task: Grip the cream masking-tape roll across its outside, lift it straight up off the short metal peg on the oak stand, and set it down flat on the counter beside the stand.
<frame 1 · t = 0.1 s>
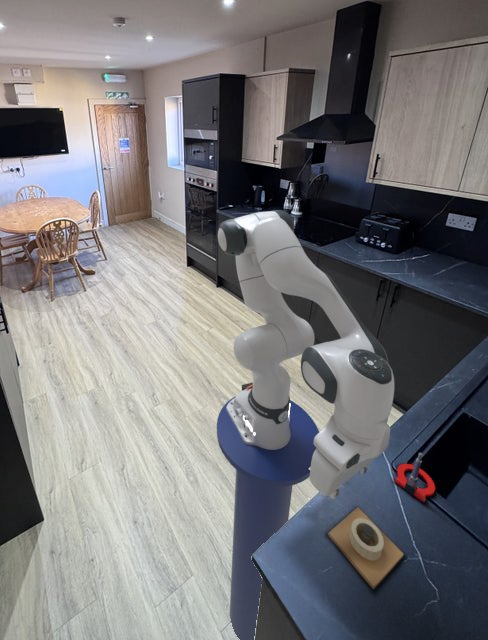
hand: (347, 482, 66), 21 cm above the worktop, tool pointing down, fingers open, 8 cm apart
tape roll: (365, 543, 73), point 1 cm above the worktop, touching peg stand
peg stand: (364, 545, 73), on the worktop
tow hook: (414, 482, 87), on the worktop
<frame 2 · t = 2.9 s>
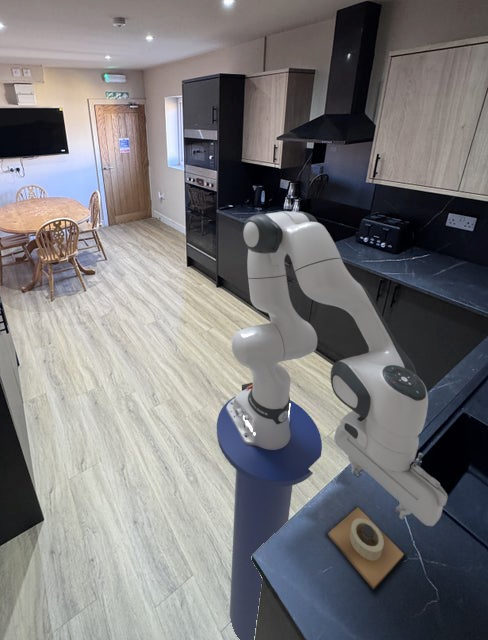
hand: (376, 493, 68), 17 cm above the worktop, tool pointing down, fingers open, 8 cm apart
nothing on the worktop moved.
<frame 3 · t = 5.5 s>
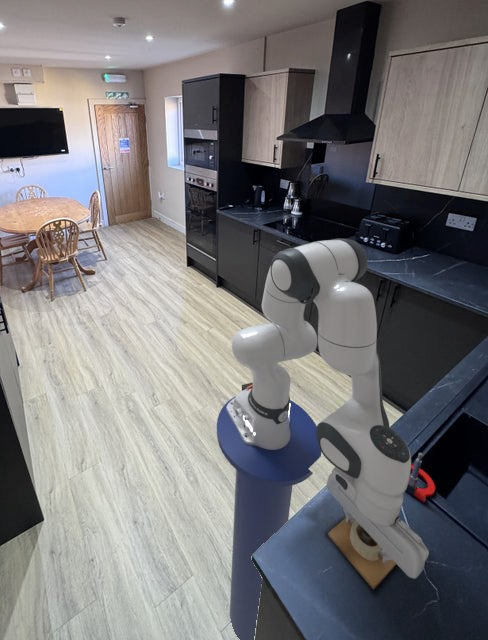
hand: (365, 539, 73), 2 cm above the worktop, tool pointing down, fingers closed on tape roll, 6 cm apart
tape roll: (365, 543, 73), point 1 cm above the worktop, touching gripper, peg stand
everything else where it was.
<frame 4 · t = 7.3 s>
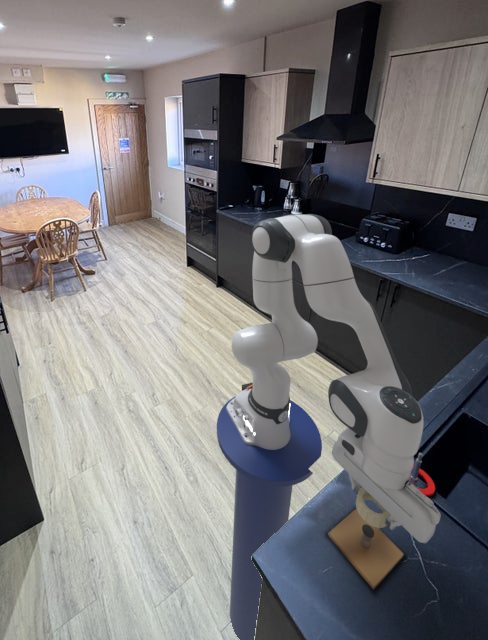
hand: (372, 507, 70), 12 cm above the worktop, tool pointing down, fingers closed on tape roll, 6 cm apart
tape roll: (371, 510, 70), point 11 cm above the worktop, touching gripper
everything else where it was.
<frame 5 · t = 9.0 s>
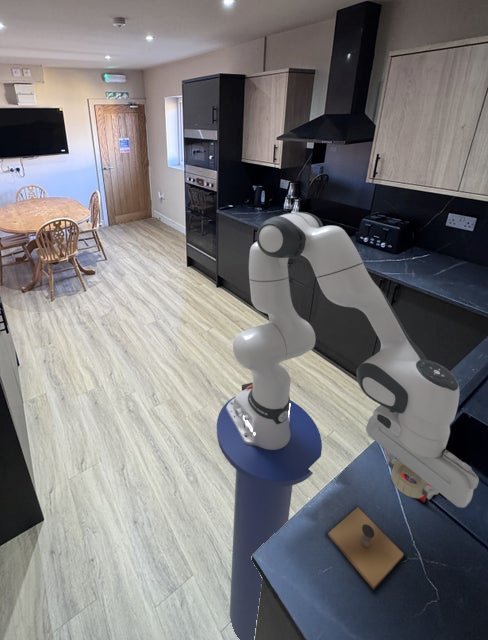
hand: (408, 479, 73), 15 cm above the worktop, tool pointing down, fingers closed on tape roll, 6 cm apart
tape roll: (407, 483, 73), point 13 cm above the worktop, touching gripper
everything else where it was.
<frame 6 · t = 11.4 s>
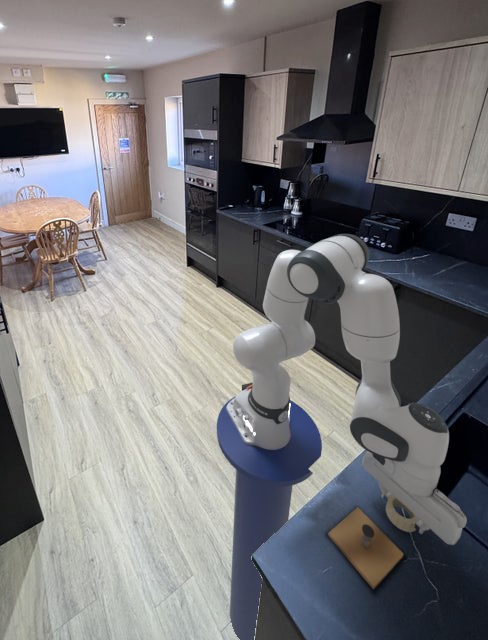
hand: (401, 513, 77), 3 cm above the worktop, tool pointing down, fingers closed on tape roll, 6 cm apart
tape roll: (401, 516, 77), point 2 cm above the worktop, touching gripper
everything else where it was.
when the fingers open (1 cm above the worktop, at t = 12.6 s): tape roll stays where it is, on the worktop.
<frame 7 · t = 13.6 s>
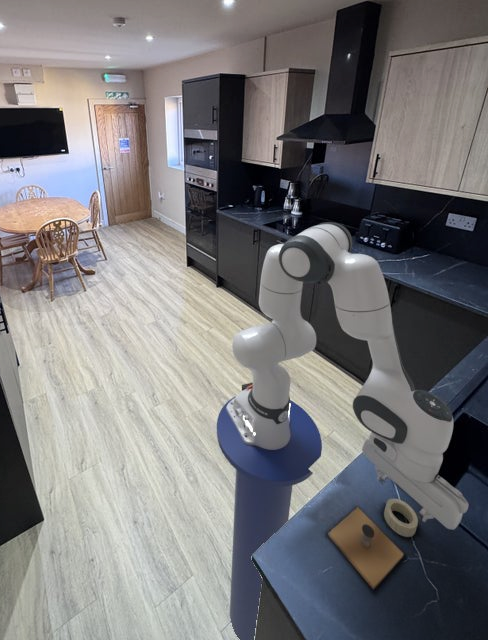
hand: (401, 498, 77), 6 cm above the worktop, tool pointing down, fingers open, 8 cm apart
tape roll: (399, 521, 78), on the worktop
everything else where it was.
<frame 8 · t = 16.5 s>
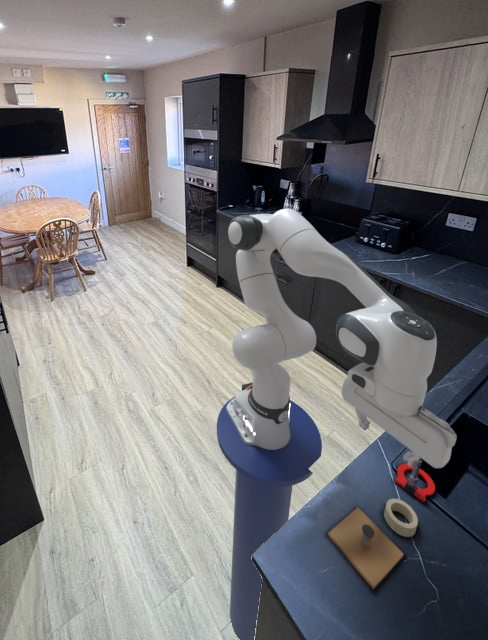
hand: (384, 443, 68), 27 cm above the worktop, tool pointing down, fingers open, 8 cm apart
nothing on the worktop moved.
at the end: tape roll inside the target area (0.2 cm from its centre), on the worktop; tape roll touching worktop; tape roll tilted 0° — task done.
